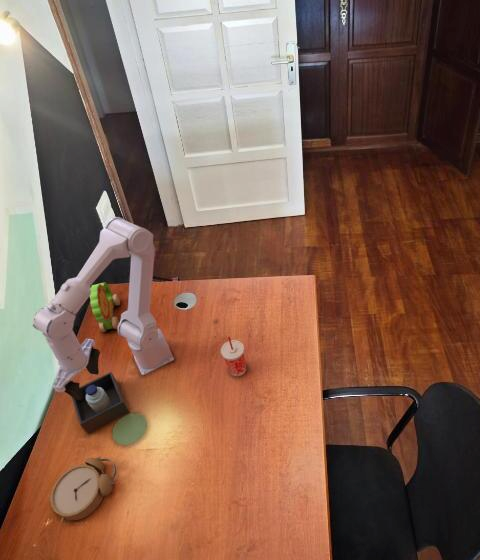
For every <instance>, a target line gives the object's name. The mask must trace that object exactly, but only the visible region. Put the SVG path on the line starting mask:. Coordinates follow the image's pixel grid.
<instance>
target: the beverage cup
mask: <svg viewBox="0 0 480 560" xmlns="http://www.w3.org/2000/svg"><path fill="white" fill-rule="evenodd" d="M227 339H228V341H226V342H224V344H222V346H221V348H220V355H221V357H222V358H223V359H224V361H225V364H226V366H227V369H228V371H229V373H230V375H231V376H233V377H241V376H243V375H245V373H246V371H247V365H246V364H247V363H246V357H245V345H244V344H243V343H242V342H241V341H239V340H237V339H232V340H231V336H228V337H227Z"/></svg>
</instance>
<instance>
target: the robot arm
mask: <svg viewBox="0 0 480 560" xmlns="http://www.w3.org/2000/svg"><path fill="white" fill-rule="evenodd" d="M155 252H156V247H155V245H154V233H152V232H151V231H149V229H146V228H144V227H142V226H139V225H137V224H134V223H132V222H129V221H127V220H125V219H124V218H122V217H120V216H115V217H112V218H110V219H109V220H108V221H107V223H105V226H104V227H103V228H102V230H100V233H99V241H98V243H97V245H96V247H95V248H94V250H93V251H92V253H91V254H90V256H89V257H88V259H87V260H86V262H85V263H84V265H83V267H82V268H81V270H80V271H79V273H78V274H77V275H76V277H72V278H67V280H66V281H65V282H64V283H62V285H61V286H60V289H59V290H58V292H57V293H56V294H55V295H54V297H53V298H52V300H51V301H50V302H49V303H48V304H47V305H46V306H44V307H41V308H39V309H38V310H37V311H36V313H34V317H33V324H32V327H33V328H34V329H35V330H38V331H40V332H41V333H42V335H43V337H44V338H45V340H46V344H47V345H48V346H49V348H50V350H51V352H52V354H53V355H54V357H55V359H56V360H57V364H58V365H59V369H58V372H57V376H56V379H55V382H54V383H53V386H52V388H53V389H54V391H55V392H57V393H63V394H64V393H65V394H68V395H69V396H70V397H71V398H72V397H73V398H74V399H77V400H82V399H83V395H82V393H81V391H80V387H81V386H80V382H75V381H73V379H74V378H75V377H76V376H77V375H79V374H80V373H81V372H82V371H84V369H86V370H87V372H88V373H90V375H96V376H98V375H99V372H100V370H99V357H100V354H101V352H100V350H99V349H98V348H95V347H96V345H97V344H96V342H95V339H92V338H85V340H84V341H83V342H82V343H80V341H79V339H78V338H77V335H76V333H75V331H74V330H73V328H74V325H75V320H76V315H77V314H78V312H79V311H80V309H81V308H82V306H83V305H84V304H85V303H86V301H87V300H88V299H89V298H90V294H91V290H90V288H91V286H92V285H93V283H94V282H95V281H96V280H97V278H99V276H100V275H101V274H102V273H103V272H104V270H106V268H107V267H109V265H110V264H111V263H112V261H114V260H117V259H125V258H130V270H129V284H128V285H129V286H128V302H127V309H126V310H125V311H124V312H122V313H121V314H120V320H119V325H118V329H116V330H117V331H116V332H117V334H118V336H120V337H122V338H125V339H126V342H127V344H128V347H129V349H130V351H131V352H132V354H133V358H134V360H135V363H136V366H137V367H138V370H139V372H140V374H141V376H146V375H148V374H149V373H151V372H153V371H155V370H157V369H159V368H161V367H162V366H165V365H167V364H169V363H171V362H173V361H174V360H175V357H174V356H173V354H172V351H171V347H170V345H169V343H168V342H167V340H166V338H165V335H164V334H163V331H162V330H161V329H160V328H158V327H157V325H158V322H157V321H156V319H155V317H154V316H153V314H152V313H151V303H152V291H153V277H154V266H155V265H154V264H155V255H156V253H155Z"/></svg>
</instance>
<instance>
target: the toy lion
mask: <svg viewBox="0 0 480 560" xmlns="http://www.w3.org/2000/svg"><path fill="white" fill-rule="evenodd" d="M90 290H91V294H90V296H89V299H90V307H91V310H92V314H93V316H94V318H95V320H96V322H97V323H98V326H99V330H100V332H101V333H105V332H107V331H108V330H112V329H114V330H117V329H118V325H119V323H120V320H119V319H118V316H114V307H115V306H116V307H117V306H120V305H121V299H120V296H119V294H118V293H114V294H113V291H112V289H111V288H110V286H109V284H108V283H107V282H101V283H97V284H91V286H90Z"/></svg>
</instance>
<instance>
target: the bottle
mask: <svg viewBox="0 0 480 560" xmlns="http://www.w3.org/2000/svg"><path fill="white" fill-rule="evenodd" d="M86 393H87V394H86V400H87V402H88V403H89V405H90V406H91V408H92V409H93V410H94V412H95V413H96V414H98V413H100V412H102V411H104V410H106V409H107V408H109V407H111V406H112V402H111V401H110V399H109V397H108V396H107V394H106V393H105V391H104V390H103V389H102V388H101V387H96V386H95V385H90V386H88V387H87V388H86Z"/></svg>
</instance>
